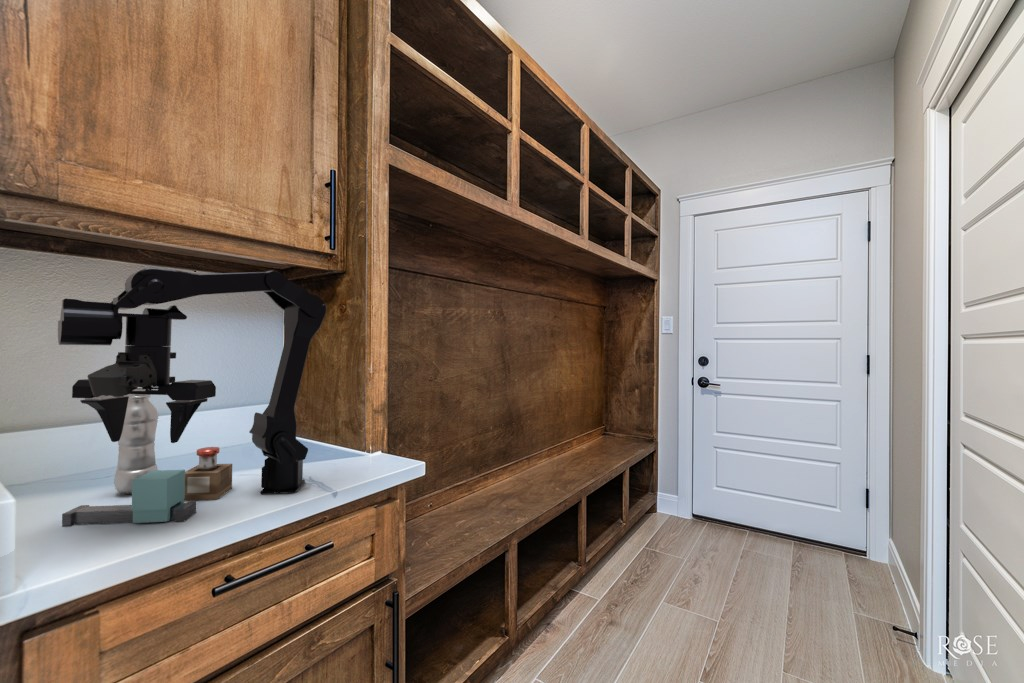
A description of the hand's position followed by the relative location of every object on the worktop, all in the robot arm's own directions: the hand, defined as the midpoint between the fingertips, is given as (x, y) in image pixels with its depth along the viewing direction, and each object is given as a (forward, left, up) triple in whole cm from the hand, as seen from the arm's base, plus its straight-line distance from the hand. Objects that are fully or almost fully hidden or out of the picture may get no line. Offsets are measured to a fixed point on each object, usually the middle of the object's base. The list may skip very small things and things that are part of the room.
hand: (145, 442), depth 71 cm
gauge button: (-4, -12, -10) cm, 16 cm away
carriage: (-2, -1, -13) cm, 13 cm away
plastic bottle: (+10, -15, -13) cm, 23 cm away
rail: (+2, -1, -13) cm, 13 cm away
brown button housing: (-4, -12, -13) cm, 18 cm away
